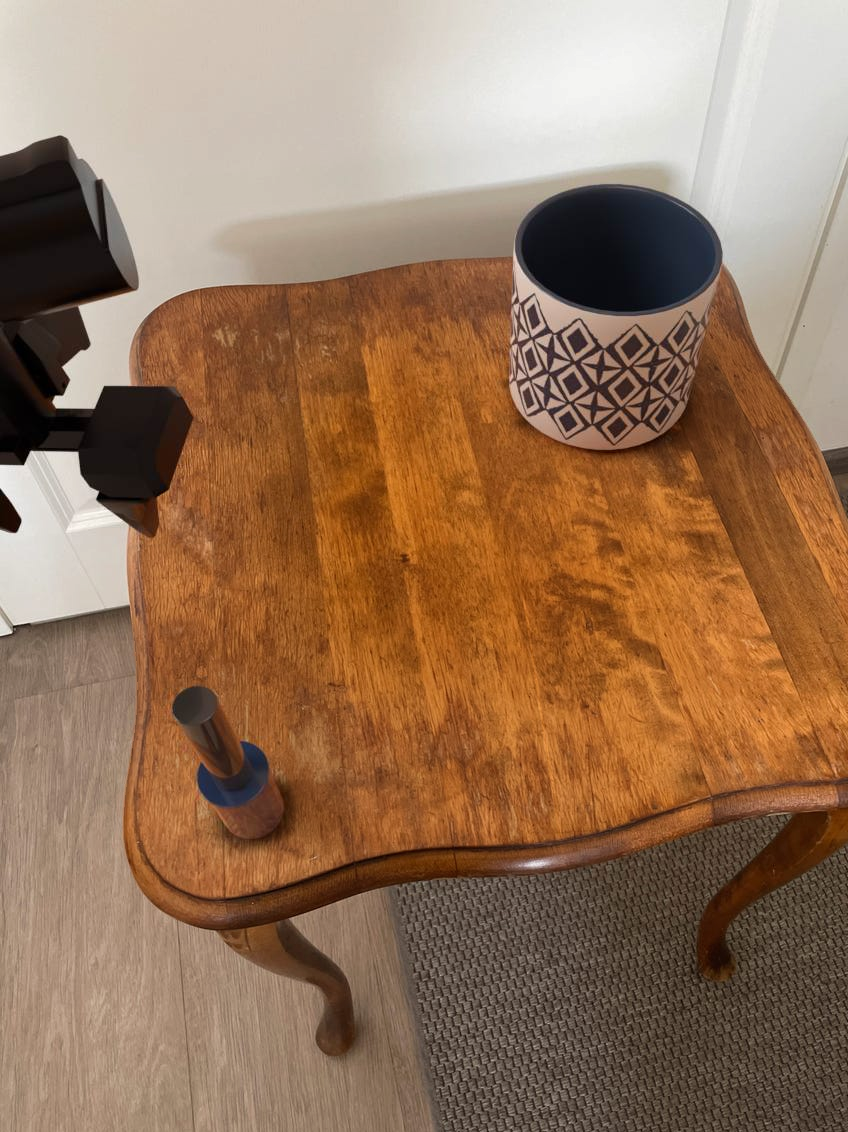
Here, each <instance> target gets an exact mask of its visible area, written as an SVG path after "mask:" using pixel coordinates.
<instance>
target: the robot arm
mask: <svg viewBox="0 0 848 1132" xmlns="http://www.w3.org/2000/svg"><path fill="white" fill-rule="evenodd" d="M139 286H140V277H139V273H138V268H137V262H136V259H135V255H134V252H133V248H132V244H131V242H130V239H129V236H128V233H127V230H126V228H125V225H124V221H123V220H122V217H121V215H120V212H119V210H118V207H117V205H116V203H115V201H114V198H113V197H112V194H111V192H110V190H109V188H108V186H107V184H106V182H105V180H104V179H103V178H98V176H97V174H96V173H95V171H94V170H93V168H92V167H91V166H90V164H89V163H88V162H87V161H86V160H85V159H84V158H78V156H77V154H76V152H75V150H74V148H73V145H72V144H71V142H70V140H69V138H68V137H66V136H64V135H61V134H60V135H55V136H51V137H47V138H44V139H40V140H37V141H34V142H32V143H30V144H29V145H27V146H25V147H24V148H22V149H20V150H16V151H13V152H9V153H7V154H3V155H0V466H21V467H22V466H25V464H26V462H27V460H28V458H29V456H30V453H31V452H51V453H52V452H56V453H57V452H58V453H60V452H61V453H62V452H63V453H77V454H78V455H77V457H78V463H79V464H78V465H79V474H80V476H81V478H82V479H83V480H84V481H85V483H86V484H87V485H88V487H89V488H90V489H92V490H95V491H97V492H98V493H97V495H96V497H95V501H96V502H97V503H98V504H100V505H101V506H102V507H104V508H105V509H107V510H108V511H109V512H111V513H112V514H113V515H115V516H116V517H118V518H119V519H120V520H121V521H122V522H124V523H126V524H127V525H128V526H130V527H131V528H132V529H134V530H135V531H136V532H138V533H140V534H142V535H143V536H144V537H147V538H150V539H151V538H153V539H155V537H156V536H157V533H158V530H159V526H160V518H159V509H158V508H159V506H158V497H160V496H162V495H163V494H165V493H166V492H168V491H169V490H170V487H171V485H172V482H173V478H174V475H175V473H176V470H177V467H178V464H179V461H180V459H181V456H182V452H183V450H184V447H185V444H186V442H187V438H188V435H189V432H190V429H191V427H192V424H193V421H194V418H195V417H194V415H193V414H192V412H191V410H190V407H189V406H188V404H187V402H186V400H185V398H184V397H183V395H182V394H181V393H180V391H179V390H178V389H177V388H176V386H175V385H103V387H102V389H101V392H100V394H99V397H98V399H97V402H96V404H95V407H94V408H84V407H83V408H77V407H75V408H72V407H71V408H70V407H69V408H68V407H66V408H65V407H56V405H55V404H54V403H53V402H54V400H55V397H63V396H64V395H65V394H66V391H67V389H68V386H69V384H70V382H71V379H70V377H69V375H68V374H67V372H66V371H65V369H64V366H66V364H68V363H69V362H70V361H71V360H72V359H74V358H75V357H76V355H78V354H79V353H80V352H81V351H82V352H83V351H87V350H88V349H90V347H91V345H92V343H91V340H90V337H89V334H88V331H87V328H86V325H85V321H84V319H83V316H82V314H81V311H80V308H79V307H81V306H84V305H88V304H91V303H95V302H99V301H103V300H107V299H110V298H115V297H118V296H122V295H124V294H129V293H132V292H137V291H138V290H139ZM21 525H22V518H21V515H20V514H19V512H18V511H17V509H16V507H15V506H14V504H13V502H12V501H11V500H10V499H9V497H8V496H7V495H6V493H5V492H4V491H3V490H2V488H1V487H0V531H3V532H6V533H9V534H17V533H18V532H19V530H20V527H21Z"/></svg>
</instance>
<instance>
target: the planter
mask: <svg viewBox="0 0 848 1132" xmlns="http://www.w3.org/2000/svg"><path fill="white" fill-rule="evenodd" d="M512 255H513V256H512V277H511V279H512V282H511V305H510V306H511V309H510V335H509V336H510V338H509V339H510V341H509V371H508V373H509V379H508V383H509V386H508V387H509V391H510V396H511V398H512V400H513V402H514V405H515V407H516V408H517V410H518V411H519V413H520V414H521V416H522V417H523V418H524V419H525V420H526V421H527V422H528V423H529V424H531V426H532V427H533V428H535V429H536V430H537V431H539V432H541V433H542V434H543V435H546V436H548V437H549V438H551V439H553V440H554V441H555V440H556V441H558V442H560V443H563V444H566V445H569V446H573V447H577V448H581V449H587V450H597V451H613V450H614V451H615V450H621V449H622V450H623V449H628V448H631V447H636V446H640V445H642V444H645V443H648V442H650V441H652V440H654V439H656V438H658V437H659V436H661V435H663V434H665V432H667V431H668V430H669V429H671V428H672V427H673V426H674V425H675V424H676V423H677V421H678V420H679V419H680V418H681V416H682V415H683V414H684V411H685V409H686V407H687V404H688V401H689V398H690V397H689V396H690V393H691V390H692V386H693V384H694V383H693V382H694V378H695V374H696V370H697V367H698V363H699V359H700V355H701V351H702V348H703V343H704V340H705V337H706V331H707V327H708V324H709V320H710V316H711V312H712V307H713V304H714V300H715V296H716V292H717V289H718V284H719V281H720V280H719V279H720V276H721V272H722V266H723V261H724V260H723V258H724V251H723V247H722V241H721V240H720V237H719V235H718V233H717V230H716V229H715V228H714V226H713V225H712V224H711V222H710V221H709V220H708V219H707V217H705V216H704V215H703V214H702V213H701V212H700V211H699V210H698V209H696V208H694V207H693V206H691V205H690V204H688V203H686V202H685V201H683V200H681V199H679V198H678V197H675V196H673V195H671V194H668V193H666V192H663V191H659V190H656V189H653V188H650V187H644V186H639V185H635V184H634V185H633V184H623V183H600V184H589V185H583V186H578V187H574V188H570V189H567V190H565V191H561V192H558V193H557V194H554V195H552V196H550V197H547V198H546V199H545V200H543V201H541V202H540V203H538V204H537V205H536V206H534V207H533V208H532V209H531V210H530V211H529V212H528V213H527V214H526V215H525V216H524V218H523V219H522V220H521V222H520V224H519V226H518V228H517V231H516V232H515V236H514V240H513V254H512Z"/></svg>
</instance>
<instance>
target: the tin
mask: <svg viewBox="0 0 848 1132" xmlns="http://www.w3.org/2000/svg"><path fill="white" fill-rule="evenodd" d="M211 806H212V808H213V809H214V810H215V812H216V813H217V815H218V816H219V818H220V820H221V821H222V823H223V824H224V826H225V827H226V828H227V830H228V831H229V832H230V833H232V834H233V835H234V836H236V837H237V838H240V839H243V840H257V839H261V838H263V837H266V836H267V835H269V834H271V833H272V832H274V830H276V828H277V827H278V825H279V824H280V823H281V821H282V819H283V816H284V812H285V803H284V799H283V797H282V795H281V792H280V790H279V788H278V785H277V784H276V781H275V780H274V778H273V775H272V773H271V772H270V778H269V782H268V785H267V787H266V789H265V790H264V792H263V793H262V794H261V795H260V797H258V798H257V799H256V800H255V801H254V802H252V803H250V804H249V805H247V806H244V807H241V808H238V809H221V808H218V807H215V806H213V805H211Z"/></svg>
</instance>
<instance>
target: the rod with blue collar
mask: <svg viewBox="0 0 848 1132" xmlns="http://www.w3.org/2000/svg"><path fill="white" fill-rule="evenodd" d="M171 714H172V716H173V718H174V720H175V721H176V723H177V725H178V726H179V728H180V730H181V731H182V733H183V735H184V736H185V738H186V739H187V741H188V742H189V744H190V746H191V747H192V749H193V750H194V752H195V753H196V755H197V757H198V759H199V761H200V763H199V765H198V768H197V772H196V785H197V788H198V791H199V793H200V794H201V796H202V797H203V799H204V800H205V801H206V802H207V803H209V804H210V805H211V806H212V805H213V806H215V807H218V808H221V809H238V808H241V807H244V806H247V805H249V804H250V803H252V802H254V801H255V800H256V799H257V798H258V797H260V795H261V794H262V793H263V792H264V790H265V789H266V787H267V785H268V782H269V778H270V773H271V766H270V762H269V759H268V757H267V756H266V754H265V752H264V751H263V750H262V749H261V748H260V747H259V746H257V745H256V744H254V743H252V742H249V741H246V740H240V739H239V738H238V736H237V733H236V732H235V730H234V728H233V726H232V724H231V722H230V720H229V718H228V716H227V714H226V712H225V710H224V709H223V706H222V704H221V703H220V701H219V699H218V696H217V695H216V693H215V692H214V691H213V690H212V689H211V688H209V687H206V686H203V685H192V686H188V687H186V688H184V689H183V690H181V691H180V692H179V693H178V694H177V695H176V696H175V698H174V699H173V701H172V705H171ZM213 806H212V807H213Z"/></svg>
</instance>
